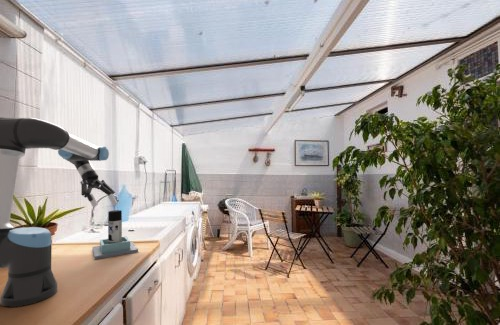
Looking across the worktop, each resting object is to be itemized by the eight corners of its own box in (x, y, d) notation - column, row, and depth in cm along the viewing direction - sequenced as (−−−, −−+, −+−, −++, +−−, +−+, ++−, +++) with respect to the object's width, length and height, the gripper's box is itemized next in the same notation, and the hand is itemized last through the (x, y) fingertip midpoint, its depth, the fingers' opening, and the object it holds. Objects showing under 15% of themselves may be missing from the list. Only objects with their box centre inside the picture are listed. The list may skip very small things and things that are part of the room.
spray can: (105, 248, 142) (105, 211, 143) (116, 245, 148) (116, 209, 149) (113, 250, 139) (113, 212, 140) (124, 246, 145) (124, 210, 146)
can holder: (94, 259, 129) (94, 248, 130) (92, 249, 146) (92, 239, 146) (138, 251, 141) (138, 241, 141) (131, 243, 157) (131, 234, 157)
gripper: (101, 179, 158) (118, 207, 153) (62, 176, 134) (80, 210, 129) (110, 171, 157) (127, 200, 152) (72, 167, 133) (91, 201, 128)
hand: (106, 205), depth 140 cm, fingers open, 13 cm apart
